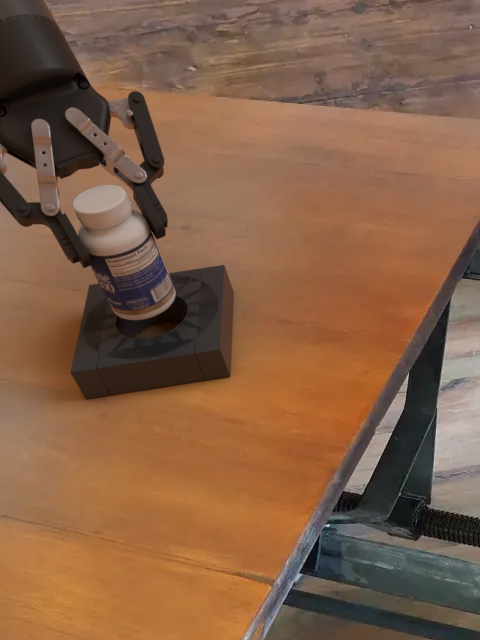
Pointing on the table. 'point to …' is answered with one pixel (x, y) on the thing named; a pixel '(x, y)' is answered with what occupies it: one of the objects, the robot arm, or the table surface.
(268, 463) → the table surface
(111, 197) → the pill bottle
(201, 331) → the socket plate
